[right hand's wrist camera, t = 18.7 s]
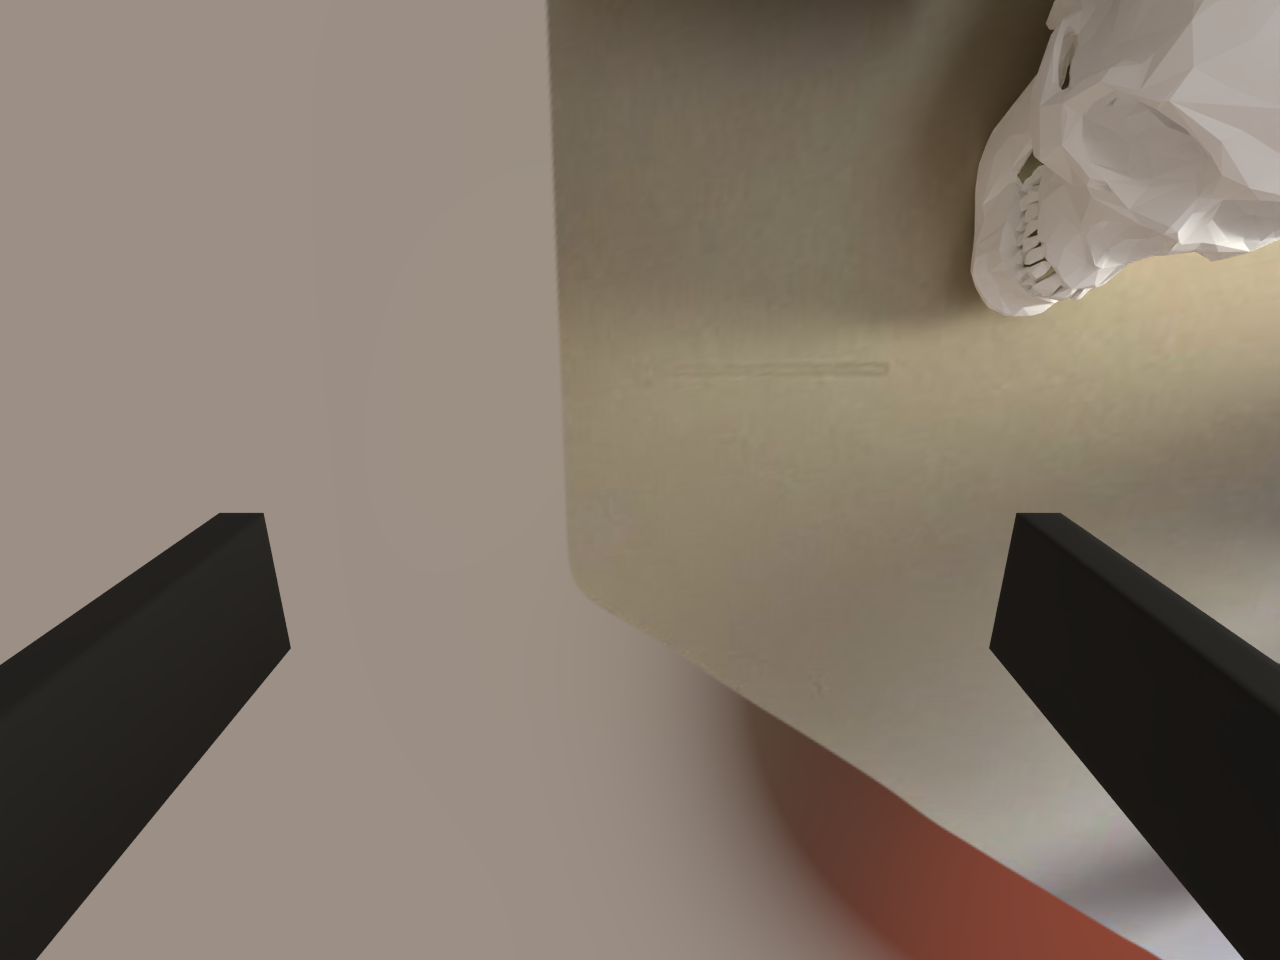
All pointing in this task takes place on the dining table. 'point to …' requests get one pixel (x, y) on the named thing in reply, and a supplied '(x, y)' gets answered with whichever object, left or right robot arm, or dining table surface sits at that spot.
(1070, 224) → the skull
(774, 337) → the dining table surface
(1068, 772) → the dining table surface
